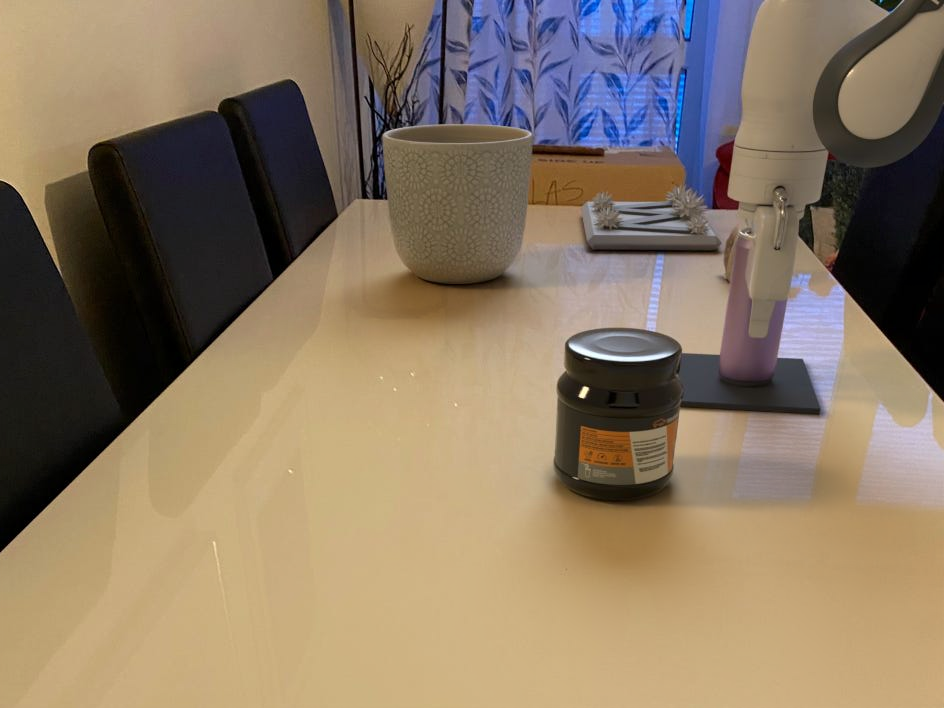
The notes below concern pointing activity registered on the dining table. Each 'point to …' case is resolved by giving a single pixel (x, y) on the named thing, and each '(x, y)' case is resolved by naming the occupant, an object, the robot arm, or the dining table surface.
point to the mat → (779, 395)
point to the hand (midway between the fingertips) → (753, 322)
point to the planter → (457, 198)
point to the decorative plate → (649, 224)
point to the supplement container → (618, 413)
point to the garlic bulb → (730, 252)
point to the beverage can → (740, 352)
